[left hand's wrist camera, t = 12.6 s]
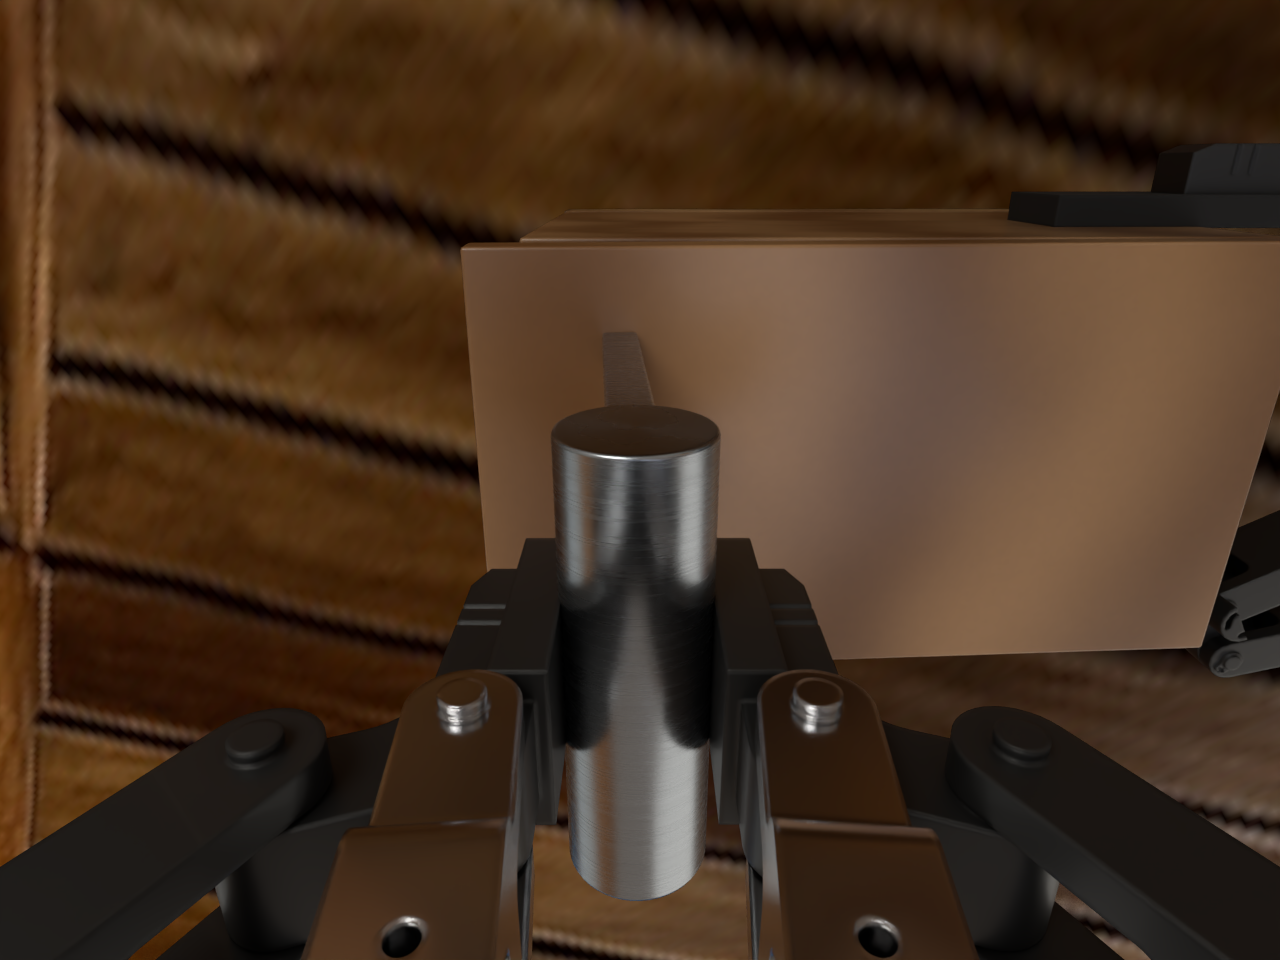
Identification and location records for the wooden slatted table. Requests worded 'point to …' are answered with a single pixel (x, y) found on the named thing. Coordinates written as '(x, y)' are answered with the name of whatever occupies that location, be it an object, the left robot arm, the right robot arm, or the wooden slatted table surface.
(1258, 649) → the right robot arm
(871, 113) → the wooden slatted table surface
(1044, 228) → the chest
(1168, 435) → the lid
